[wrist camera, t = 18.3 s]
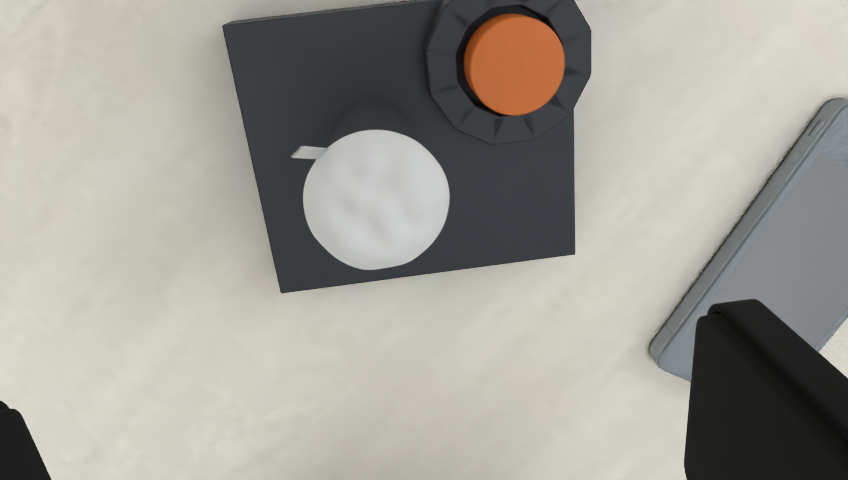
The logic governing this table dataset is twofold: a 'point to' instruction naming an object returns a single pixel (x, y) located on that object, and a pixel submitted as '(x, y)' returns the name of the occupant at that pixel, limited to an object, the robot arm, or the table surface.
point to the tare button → (514, 63)
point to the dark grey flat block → (428, 116)
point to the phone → (781, 248)
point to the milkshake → (374, 190)
